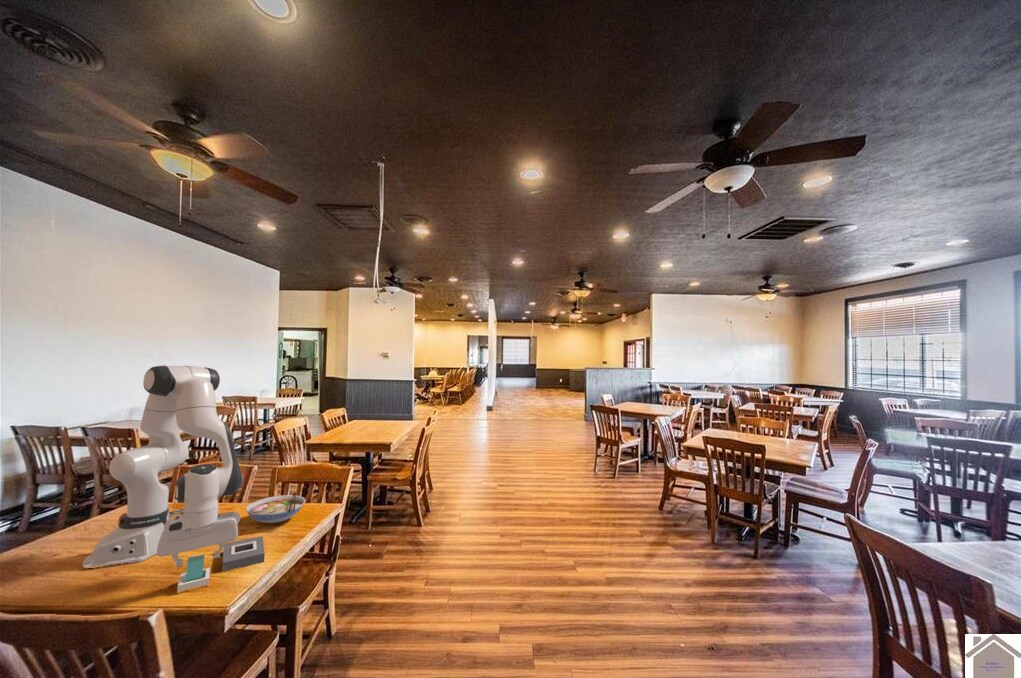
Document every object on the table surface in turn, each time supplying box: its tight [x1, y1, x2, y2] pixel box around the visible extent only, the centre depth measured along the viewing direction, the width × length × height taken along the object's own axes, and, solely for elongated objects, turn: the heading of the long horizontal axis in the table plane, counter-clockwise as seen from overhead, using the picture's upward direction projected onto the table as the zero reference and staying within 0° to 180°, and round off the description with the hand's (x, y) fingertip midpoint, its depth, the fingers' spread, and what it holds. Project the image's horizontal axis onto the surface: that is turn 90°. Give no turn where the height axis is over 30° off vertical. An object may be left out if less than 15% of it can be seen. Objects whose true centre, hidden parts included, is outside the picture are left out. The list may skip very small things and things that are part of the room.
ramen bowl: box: [245, 492, 306, 525], centre depth 170 cm, size 25×23×8 cm
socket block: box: [221, 535, 266, 572], centre depth 139 cm, size 12×16×3 cm
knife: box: [169, 507, 185, 518], centre depth 167 cm, size 28×2×10 cm
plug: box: [185, 554, 205, 582], centre depth 122 cm, size 4×4×8 cm
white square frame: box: [176, 567, 211, 594], centre depth 122 cm, size 8×8×2 cm
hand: (198, 561), depth 122 cm, fingers open, 8 cm apart
